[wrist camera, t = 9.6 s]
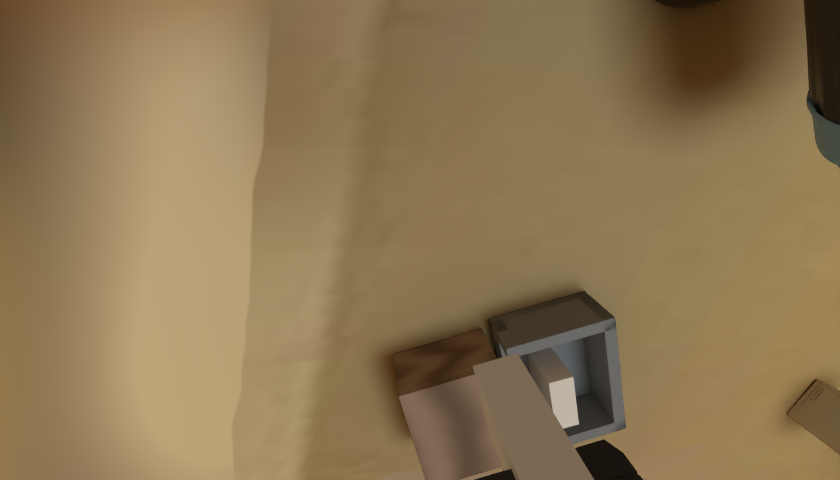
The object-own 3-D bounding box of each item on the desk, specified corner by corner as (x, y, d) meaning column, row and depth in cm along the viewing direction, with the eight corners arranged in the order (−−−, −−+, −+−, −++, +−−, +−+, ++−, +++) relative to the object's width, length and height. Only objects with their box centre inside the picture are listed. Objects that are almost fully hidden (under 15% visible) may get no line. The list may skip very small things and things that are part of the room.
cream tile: (526, 349, 46) (547, 343, 47) (533, 392, 48) (554, 386, 49) (548, 383, 41) (573, 376, 41) (555, 430, 43) (579, 424, 43)
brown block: (481, 328, 46) (501, 366, 40) (500, 413, 50) (521, 460, 44) (393, 353, 46) (398, 396, 39) (419, 437, 50) (428, 488, 43)
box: (584, 291, 46) (615, 317, 41) (596, 391, 51) (625, 428, 45) (488, 318, 46) (506, 349, 40) (509, 417, 51) (528, 457, 45)
